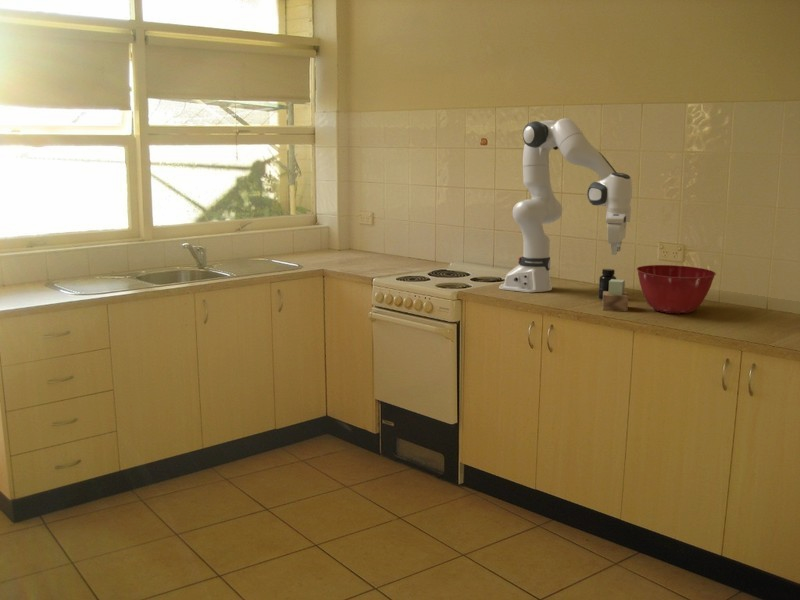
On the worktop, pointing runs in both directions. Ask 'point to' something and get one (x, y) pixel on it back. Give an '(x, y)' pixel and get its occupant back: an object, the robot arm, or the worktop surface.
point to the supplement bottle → (605, 281)
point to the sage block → (616, 287)
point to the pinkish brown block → (615, 301)
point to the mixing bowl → (674, 287)
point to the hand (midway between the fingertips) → (615, 252)
